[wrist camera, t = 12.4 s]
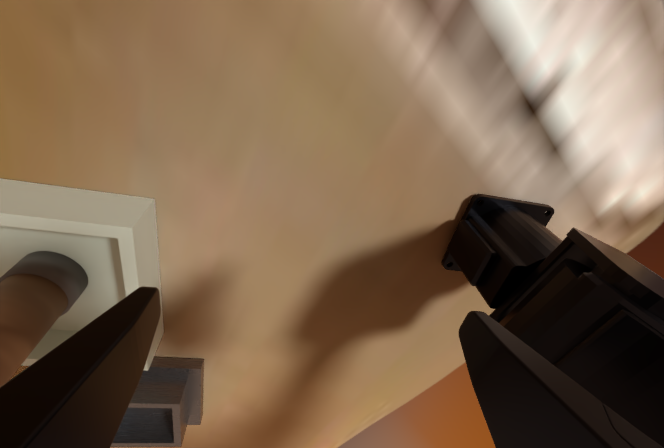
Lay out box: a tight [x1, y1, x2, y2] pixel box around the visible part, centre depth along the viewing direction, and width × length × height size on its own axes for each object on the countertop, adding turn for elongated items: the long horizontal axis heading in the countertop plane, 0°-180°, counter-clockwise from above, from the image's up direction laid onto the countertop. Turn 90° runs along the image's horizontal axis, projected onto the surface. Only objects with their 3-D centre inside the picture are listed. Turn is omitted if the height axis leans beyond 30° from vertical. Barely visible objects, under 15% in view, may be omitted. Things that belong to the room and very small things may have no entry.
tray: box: [0, 179, 164, 371], centre depth 21 cm, size 13×13×4 cm
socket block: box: [110, 357, 204, 447], centre depth 29 cm, size 9×9×4 cm
